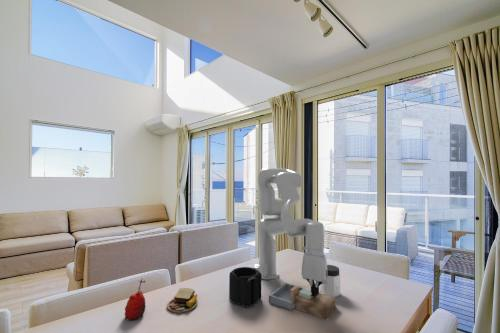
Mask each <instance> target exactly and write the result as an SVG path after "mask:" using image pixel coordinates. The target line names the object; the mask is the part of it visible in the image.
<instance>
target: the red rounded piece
mask: <svg viewBox="0 0 500 333" xmlns="http://www.w3.org/2000/svg"><path fill="white" fill-rule="evenodd" d="M137 281H138V282H139V286H138V289H137V292H136V293H134V294H131V295H129V299H128V300H127V302H126V304H125V307H124V319H125V320H128V321H136V320H139V319H141V318H143V316H144V314H145V311H146V307H147V306H146V298H145V296H144V294H143V291H141V285H142V283H146V280H145V279H144V280H143V278H141V280H137Z"/></svg>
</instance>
